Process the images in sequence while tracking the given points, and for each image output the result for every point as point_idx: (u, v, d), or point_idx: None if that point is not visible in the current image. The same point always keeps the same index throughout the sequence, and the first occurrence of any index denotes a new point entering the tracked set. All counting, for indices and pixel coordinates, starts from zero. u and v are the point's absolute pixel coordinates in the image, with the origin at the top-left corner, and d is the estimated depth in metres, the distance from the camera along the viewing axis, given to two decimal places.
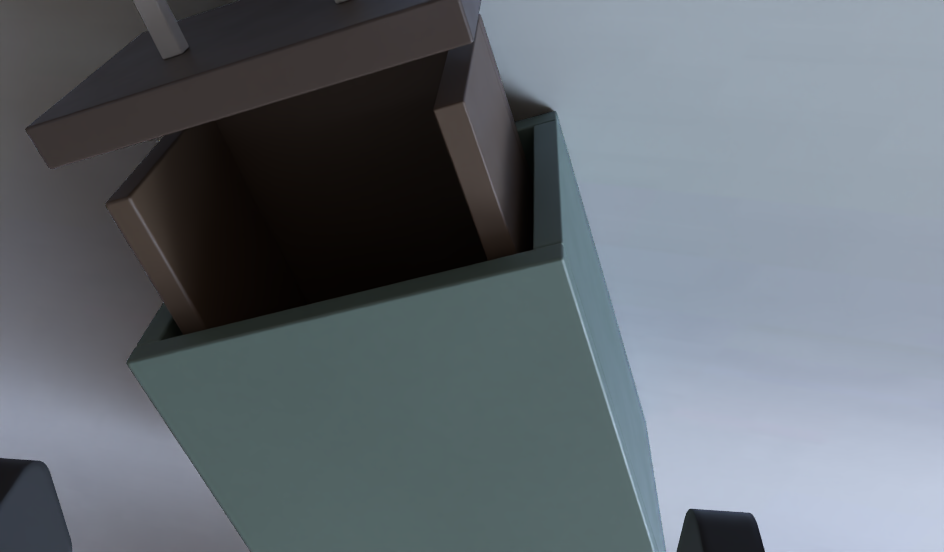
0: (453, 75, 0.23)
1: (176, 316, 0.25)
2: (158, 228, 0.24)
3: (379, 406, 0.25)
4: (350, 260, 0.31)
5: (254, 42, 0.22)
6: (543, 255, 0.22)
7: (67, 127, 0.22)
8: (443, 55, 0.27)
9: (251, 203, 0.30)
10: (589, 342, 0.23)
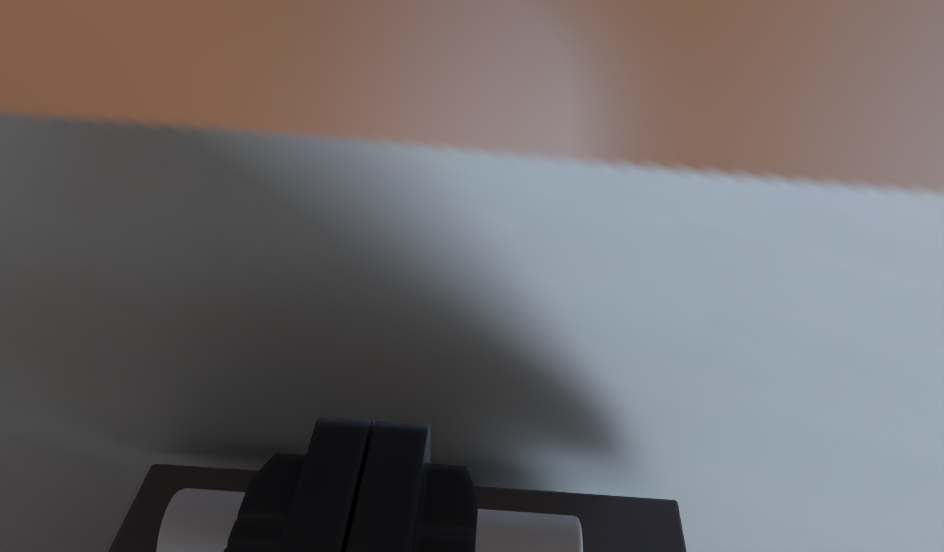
0: None
1: None
2: None
3: None
4: None
5: None
6: None
7: None
8: None
9: None
10: None
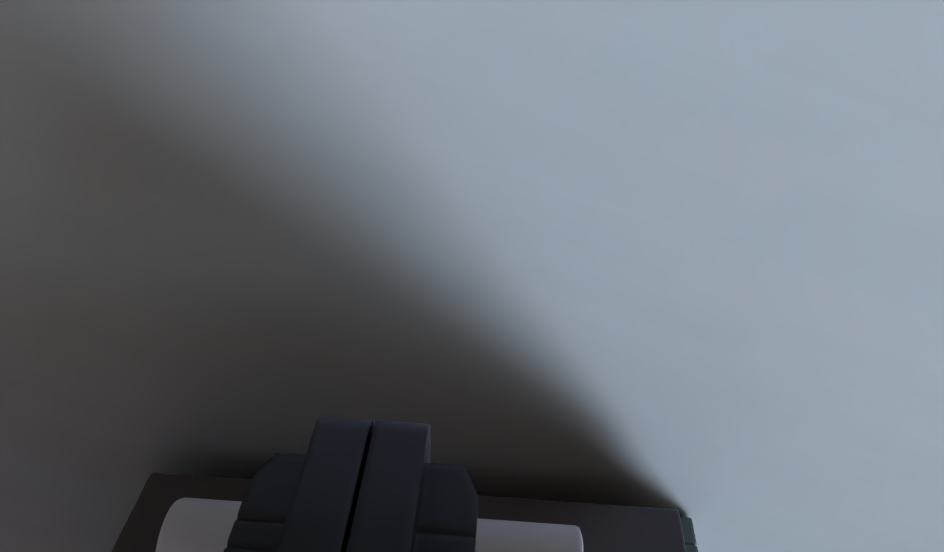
0: None
1: None
2: None
3: None
4: None
5: None
6: None
7: None
8: None
9: None
10: None
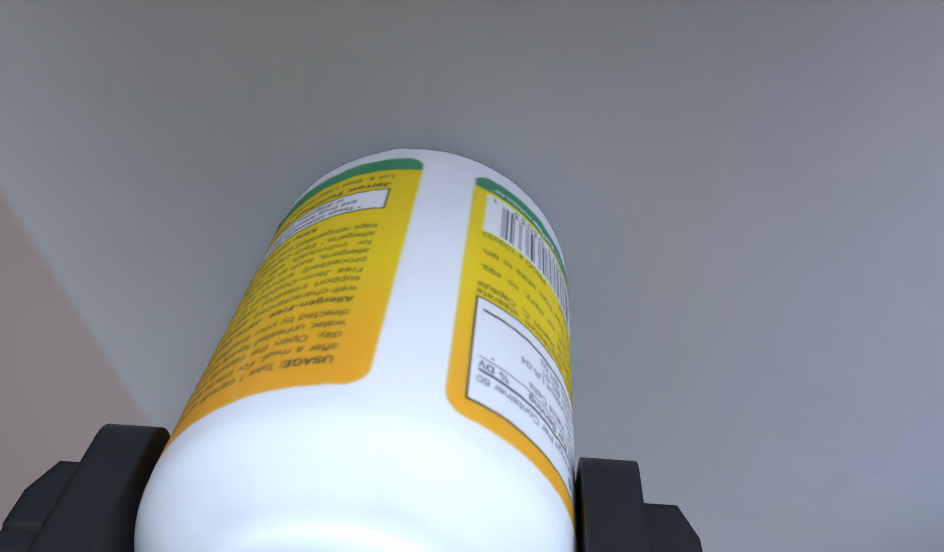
0: None
1: None
2: None
3: None
4: None
5: None
6: None
7: None
8: None
9: None
10: None
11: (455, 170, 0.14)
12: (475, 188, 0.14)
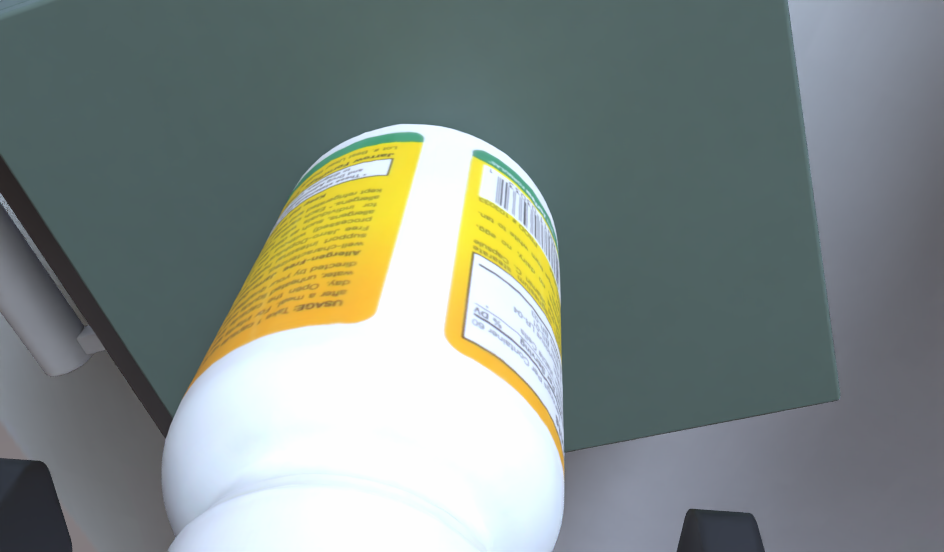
0: None
1: None
2: None
3: (243, 280, 0.18)
4: None
5: None
6: None
7: None
8: None
9: None
10: None
11: (453, 143, 0.15)
12: (473, 158, 0.15)
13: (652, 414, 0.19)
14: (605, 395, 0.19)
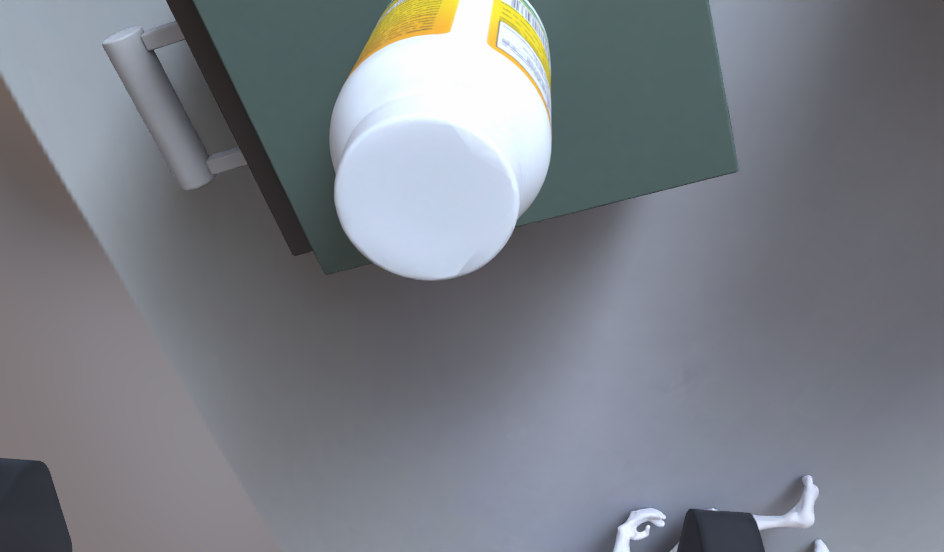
0: None
1: None
2: None
3: (342, 86, 0.28)
4: None
5: None
6: None
7: (287, 229, 0.31)
8: None
9: None
10: None
11: None
12: None
13: (614, 185, 0.29)
14: (582, 170, 0.29)
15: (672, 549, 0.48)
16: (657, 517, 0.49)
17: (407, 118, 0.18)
